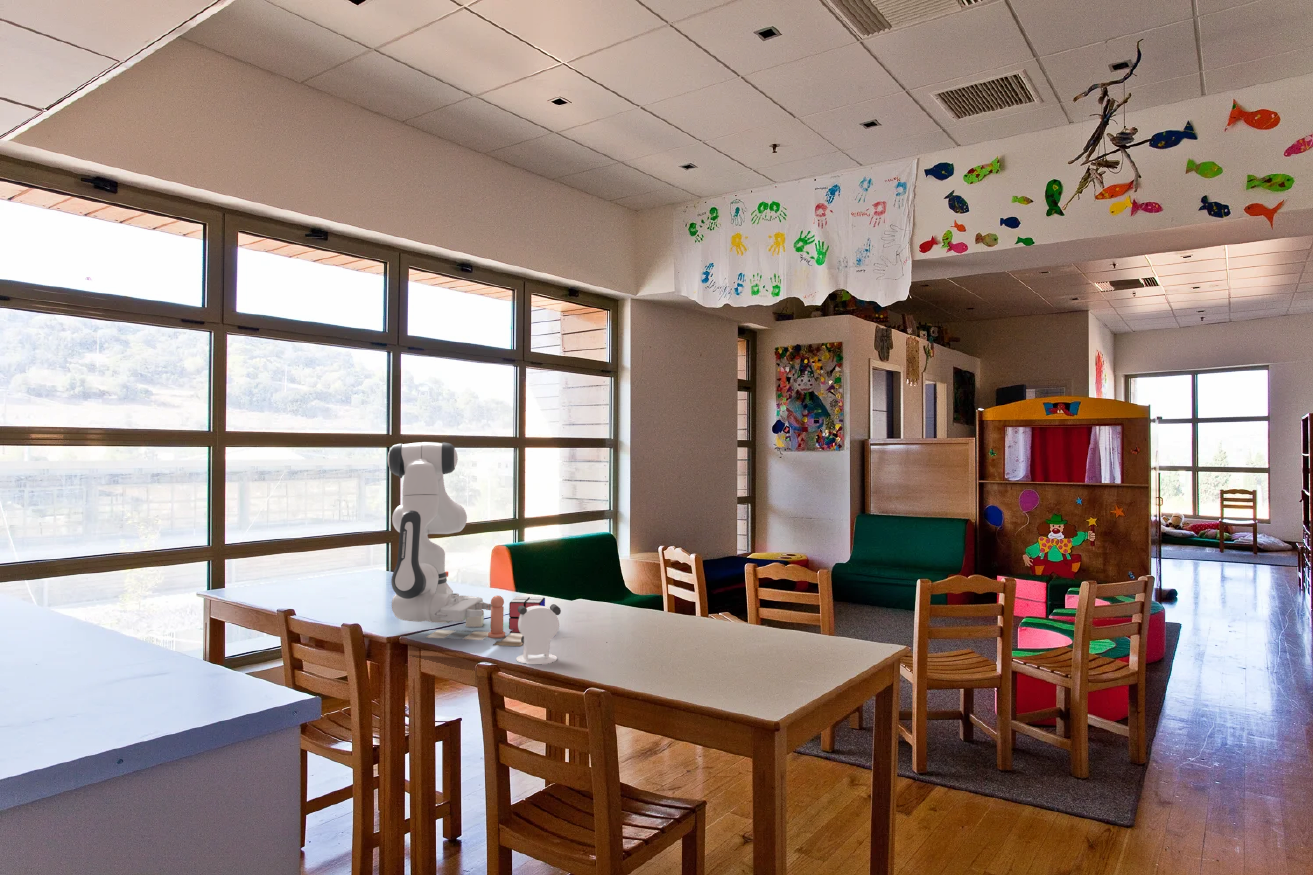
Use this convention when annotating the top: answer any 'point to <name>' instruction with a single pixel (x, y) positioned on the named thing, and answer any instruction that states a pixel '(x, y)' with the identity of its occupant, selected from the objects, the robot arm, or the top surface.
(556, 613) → the panda figurine
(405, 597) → the robot arm
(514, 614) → the puzzle cube
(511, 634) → the track
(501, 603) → the dildo
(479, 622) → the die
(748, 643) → the top surface
